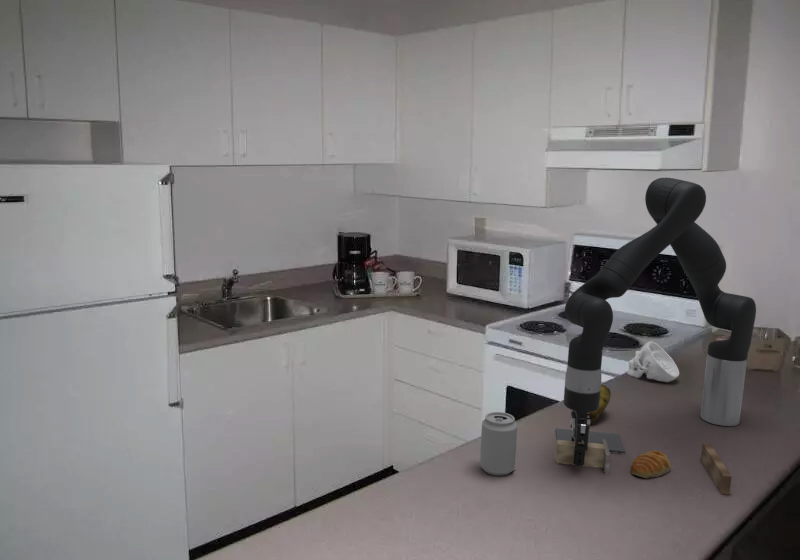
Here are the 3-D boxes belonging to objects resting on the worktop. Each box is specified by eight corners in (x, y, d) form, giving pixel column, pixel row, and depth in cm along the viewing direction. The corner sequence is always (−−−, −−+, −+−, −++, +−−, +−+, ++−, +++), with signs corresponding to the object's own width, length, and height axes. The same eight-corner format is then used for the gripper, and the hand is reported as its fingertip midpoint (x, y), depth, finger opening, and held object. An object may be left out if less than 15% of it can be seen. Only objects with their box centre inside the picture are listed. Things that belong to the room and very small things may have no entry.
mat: (555, 430, 165) (555, 428, 165) (618, 436, 163) (619, 433, 163) (557, 447, 156) (558, 445, 156) (625, 453, 153) (625, 451, 153)
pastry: (650, 484, 140) (652, 467, 139) (621, 473, 145) (623, 456, 144) (673, 471, 146) (674, 455, 145) (644, 460, 151) (645, 444, 150)
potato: (563, 417, 174) (565, 388, 172) (592, 406, 182) (594, 378, 180) (590, 428, 167) (593, 397, 166) (619, 416, 176) (622, 387, 174)
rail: (700, 459, 151) (702, 442, 151) (708, 460, 151) (710, 443, 150) (721, 493, 136) (723, 475, 135) (729, 494, 136) (731, 476, 135)
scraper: (556, 469, 145) (558, 449, 144) (554, 453, 153) (556, 434, 152) (608, 474, 143) (610, 454, 143) (604, 457, 151) (605, 439, 150)
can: (517, 464, 147) (520, 412, 144) (511, 480, 140) (514, 425, 137) (483, 458, 149) (486, 407, 147) (476, 473, 142) (478, 420, 140)
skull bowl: (630, 363, 217) (653, 336, 210) (663, 394, 210) (688, 367, 204) (615, 369, 209) (638, 342, 203) (649, 402, 202) (675, 375, 196)
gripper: (604, 399, 137) (598, 474, 141) (596, 376, 151) (591, 445, 154) (567, 395, 139) (561, 470, 142) (562, 374, 153) (557, 442, 156)
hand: (577, 457), depth 148 cm, fingers open, 7 cm apart
